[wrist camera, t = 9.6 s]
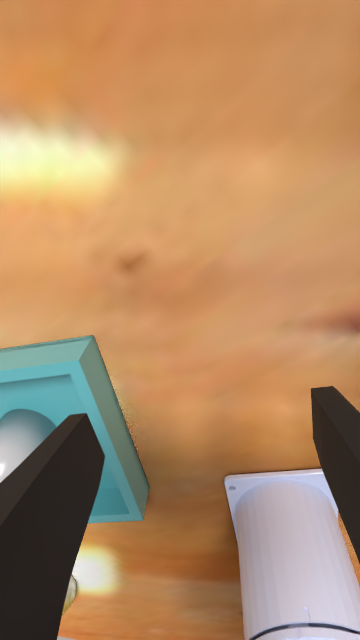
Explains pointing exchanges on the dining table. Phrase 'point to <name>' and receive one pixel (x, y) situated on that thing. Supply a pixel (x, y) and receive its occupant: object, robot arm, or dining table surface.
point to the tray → (75, 398)
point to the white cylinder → (21, 437)
